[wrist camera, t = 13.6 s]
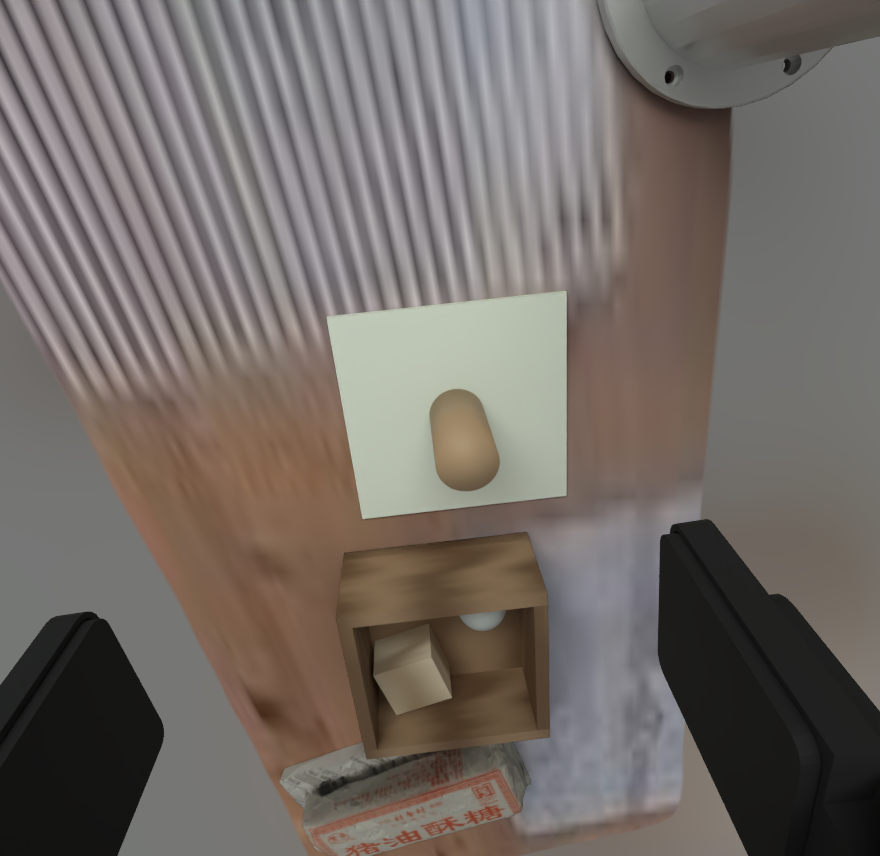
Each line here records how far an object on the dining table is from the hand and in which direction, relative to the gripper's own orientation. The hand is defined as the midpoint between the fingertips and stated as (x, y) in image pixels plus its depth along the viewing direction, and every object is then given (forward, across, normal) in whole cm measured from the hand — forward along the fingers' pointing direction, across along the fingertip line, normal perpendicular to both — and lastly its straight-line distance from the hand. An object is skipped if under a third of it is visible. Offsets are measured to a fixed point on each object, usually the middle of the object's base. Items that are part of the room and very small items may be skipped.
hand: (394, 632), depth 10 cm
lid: (+25, -2, +8) cm, 26 cm away
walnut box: (+24, +1, +22) cm, 33 cm away
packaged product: (+24, +7, +39) cm, 46 cm away
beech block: (+23, +4, +25) cm, 34 cm away
